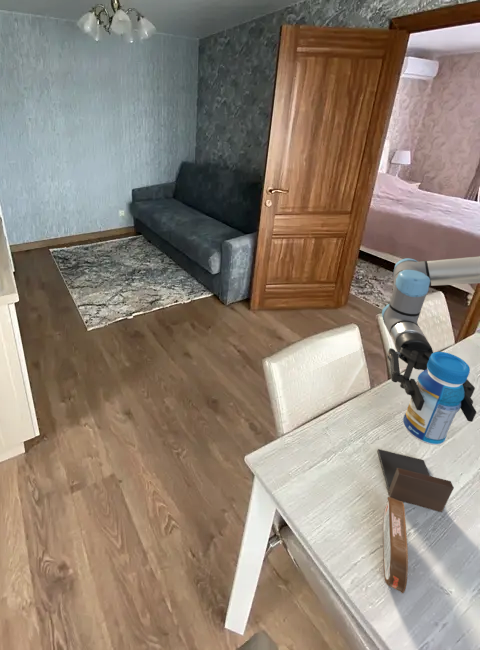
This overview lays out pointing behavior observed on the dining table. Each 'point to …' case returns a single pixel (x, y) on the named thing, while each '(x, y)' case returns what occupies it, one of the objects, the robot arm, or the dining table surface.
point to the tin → (395, 545)
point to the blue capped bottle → (437, 398)
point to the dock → (413, 481)
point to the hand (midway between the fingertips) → (446, 410)
